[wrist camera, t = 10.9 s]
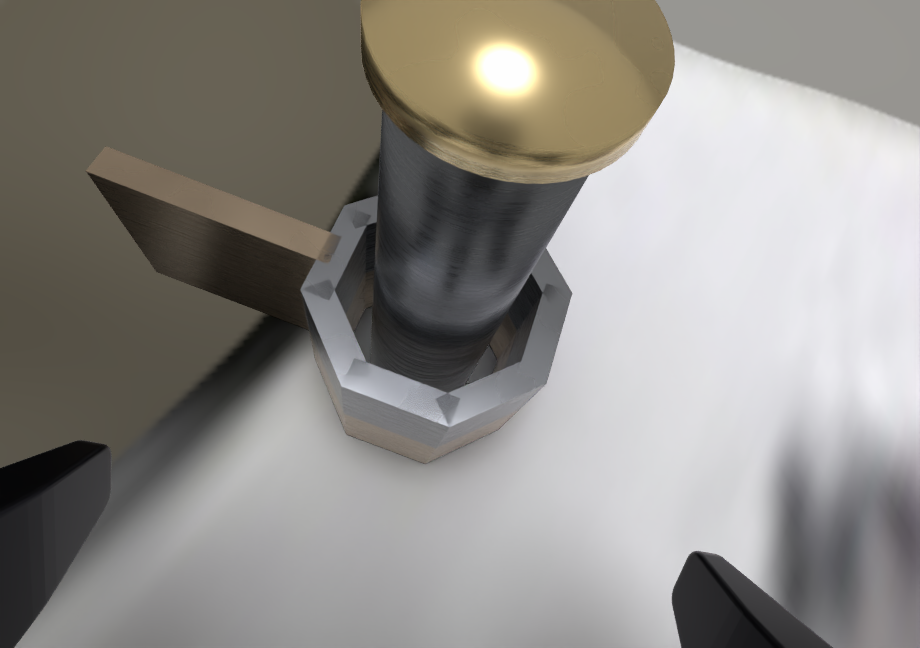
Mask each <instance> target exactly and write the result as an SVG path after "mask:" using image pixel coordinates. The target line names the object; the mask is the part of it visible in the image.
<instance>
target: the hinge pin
mask: <svg viewBox="0 0 920 648" xmlns="http://www.w3.org/2000/svg"><path fill="white" fill-rule="evenodd" d="M361 58H362V65H363V68H364V73H365V77H366V80H367V82H368V84H369V86H370V89H371V91H372V93H373V95H374V97H375V98H376V100H377V102H378V103H379V105H380V107H381V108H382V126H381V146H380V166H379V186H378V206H377V226H376V246H375V266H374V286H373V306H372V326H371V346H370V364H372V365H375V366H377V367H380V368H383V369H385V370H388V371H391V372H393V373H396V374H398V375H401V376H404V377H406V378H409V379H412V380H414V381H417V382H419V383H422V384H425V385H427V386H430V387H433V388H435V389H438V390H440V391H443V392H446V393H449V392H452V391H454V390H456V389H459V388H461V387H463V386H464V385H465V384H466V382H467V380H468V379H469V377H470V375H471V374H472V372H473V370H474V368H475V367H476V365H477V363H478V362H479V360H480V358H481V357H482V355H483V353H484V352H485V350H486V348H487V346H488V345H489V343H490V341H491V340H492V338H493V336H494V335H495V333H496V331H497V330H498V328H499V326H500V324H501V323H502V321H503V319H504V318H505V316H506V314H507V313H508V311H509V309H510V308H511V306H512V304H513V303H514V301H515V299H516V297H517V296H518V294H519V292H520V291H521V289H522V287H523V286H524V284H525V282H526V281H527V279H528V277H529V275H530V274H531V272H532V270H533V269H534V267H535V265H536V264H537V262H538V260H539V259H540V257H541V255H542V253H543V252H544V250H545V248H546V247H547V245H548V243H549V242H550V240H551V238H552V237H553V235H554V233H555V231H556V230H557V228H558V226H559V225H560V223H561V221H562V220H563V218H564V216H565V215H566V213H567V211H568V210H569V208H570V206H571V204H572V203H573V201H574V199H575V198H576V196H577V194H578V193H579V191H580V189H581V188H582V186H583V184H584V182H585V181H586V179H587V177H588V176H589V175H590V174H592V173H595V172H597V171H600V170H602V169H603V168H605V167H607V166H609V165H610V164H612V163H614V162H615V161H617V160H618V159H619V158H620V157H621V156H623V155H624V154H625V153H626V152H627V151H628V150H629V149H630V148H631V147H632V146H633V144H634V143H635V142H636V141H637V140H638V138H639V136H640V135H641V133H642V132H643V130H644V129H645V127H646V126H647V124H648V123H649V121H650V120H651V118H652V117H653V115H654V114H655V112H656V111H657V109H658V108H659V106H660V104H661V103H662V101H663V99H664V98H665V96H666V94H667V93H668V90H669V87H670V84H671V81H672V78H673V72H674V65H675V58H674V46H673V40H672V35H671V33H670V30H669V27H668V24H667V21H666V19H665V17H664V15H663V13H662V11H661V9H660V7H659V6H658V4H657V3H656V1H655V0H361Z"/></svg>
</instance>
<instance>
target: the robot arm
mask: <svg viewBox="0 0 920 648" xmlns="http://www.w3.org/2000/svg"><path fill="white" fill-rule="evenodd" d="M111 457H112V456H111V450H110V448H109V447H108V446H107V445H105V444H101V443H95V442H90V441H82V440H78V441H75V442H72V443H69V444H66V445H63V446H61V447H58V448H55V449H52V450H49V451H46V452H44V453H41V454H38V455H35V456H33V457H30V458H27V459H24V460H21V461H19V462H16V463H13V464H10V465H8V466H5V467H2V468H0V648H14V647H15V646H16V644H17V643H18V642H19V640H20V639H21V638H22V636H23V635H24V634H25V632H26V631H27V630H28V628H29V627H30V626H31V624H32V623H33V622H34V620H35V619H36V618H37V616H38V615H39V614H40V612H41V611H42V609H43V608H44V607H45V605H46V604H47V602H48V601H49V599H50V598H51V596H52V594H53V593H54V591H55V590H56V588H57V587H58V585H59V583H60V582H61V580H62V578H63V577H64V575H65V574H66V572H67V570H68V569H69V567H70V565H71V564H72V562H73V560H74V559H75V557H76V556H77V554H78V552H79V551H80V549H81V547H82V546H83V544H84V542H85V541H86V539H87V538H88V536H89V534H90V533H91V531H92V529H93V528H94V526H95V524H96V523H97V521H98V519H99V518H100V516H101V515H102V513H103V511H104V510H105V508H106V506H107V504H108V501H109V498H110V494H111ZM672 606H673V611H674V615H675V620H676V625H677V629H678V634H679V639H680V643H681V648H833V647H832V646H830V645H829V644H828V643H827V642H825V641H824V640H823V639H822V638H821V637H819V636H818V635H817V634H816V633H814V632H813V631H812V630H811V629H810V628H808V627H807V626H806V625H805V624H803V623H802V622H801V621H800V620H798V619H797V618H796V617H795V616H794V615H792V614H791V613H790V612H789V611H787V610H786V609H785V608H784V607H783V606H781V605H780V604H779V603H778V602H776V601H775V600H774V599H773V598H772V597H770V596H769V595H768V594H767V593H765V592H764V591H763V590H762V589H761V588H759V587H758V586H757V585H756V584H754V583H753V582H752V581H751V580H750V579H748V578H747V577H746V576H745V575H743V574H742V573H741V572H740V571H739V570H737V569H736V568H735V567H734V566H732V565H731V564H730V563H729V562H727V561H726V560H725V559H724V558H723V557H721V556H719V555H717V554H712V553H707V552H701V551H694V552H692V553H691V554H690V555H689V556H688V558H687V560H686V562H685V564H684V566H683V569H682V571H681V573H680V575H679V577H678V579H677V582H676V584H675V586H674V589H673V593H672Z"/></svg>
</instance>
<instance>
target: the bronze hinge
mask: <svg viewBox="0 0 920 648" xmlns="http://www.w3.org/2000/svg"><path fill="white" fill-rule="evenodd" d="M86 172H87V174H88V175H89V176H90V178H91V179H92V181H93V182H94V184H95V185H96V186H97V188H98V189H99V191H100V192H101V194H102V195H103V197H104V198H105V199H106V201H107V202H108V204H109V205H110V207H111V208H112V209H113V211H114V212H115V214H116V215H117V216H118V218H119V219H120V221H121V222H122V224H123V225H124V227H125V228H126V229H127V231H128V232H129V234H130V235H131V236H132V238H133V239H134V241H135V242H136V244H137V245H138V247H139V248H140V249H141V251H142V252H143V254H144V255H145V257H146V258H147V259H148V261H149V262H150V264H151V265H152V267H153V268H154V269H155V271H156V272H158V273H161V274H163V275H166V276H168V277H171V278H174V279H176V280H179V281H182V282H184V283H187V284H189V285H192V286H195V287H198V288H200V289H203V290H206V291H208V292H211V293H213V294H216V295H218V296H221V297H224V298H226V299H229V300H231V301H234V302H237V303H239V304H242V305H245V306H247V307H250V308H252V309H255V310H258V311H260V312H263V313H266V314H268V315H271V316H273V317H276V318H279V319H281V320H284V321H287V322H289V323H292V324H294V325H297V326H300V327H302V328H305V329H308V330H309V332H310V337H311V341H312V346H313V351H314V355H315V360H316V362H317V365H318V367H319V369H320V372H321V374H322V377H323V379H324V382H325V384H326V386H327V389H328V391H329V394H330V396H331V398H332V401H333V403H334V406H335V408H336V410H337V413H338V415H339V418H340V420H341V423H342V425H343V427H344V430H345V432H346V434H347V435H350V436H352V437H355V438H358V439H360V440H363V441H366V442H368V443H371V444H374V445H376V446H379V447H381V448H384V449H387V450H389V451H392V452H395V453H397V454H400V455H403V456H405V457H408V458H411V459H413V460H416V461H418V462H421V463H424V464H426V463H428V462H430V461H433V460H435V459H437V458H439V457H441V456H443V455H445V454H448V453H450V452H452V451H454V450H456V449H458V448H460V447H462V446H465V445H467V444H469V443H471V442H473V441H475V440H477V439H479V438H482V437H484V436H486V435H488V434H490V433H492V432H494V431H497V430H498V429H499V428H500V427H502V426H503V425H504V424H505V423H506V422H507V421H508V420H509V419H510V418H511V417H512V416H513V415H514V414H515V413H516V412H517V411H518V410H519V409H520V408H521V407H522V406H523V405H525V404H526V403H527V402H528V401H529V400H530V399H531V398H532V397H533V396H534V395H535V394H536V393H537V392H538V391H539V390H540V389H541V388H542V387H543V386H544V385H545V384H546V383H547V379H548V376H549V373H550V369H551V366H552V362H553V359H554V355H555V352H556V348H557V345H558V341H559V338H560V334H561V331H562V327H563V324H564V320H565V317H566V313H567V310H568V306H569V303H570V299H571V296H572V292H571V290H570V289H569V287H568V285H567V284H566V282H565V280H564V278H563V277H562V275H561V273H560V272H559V270H558V268H557V266H556V265H555V263H554V261H553V260H552V258H551V256H550V254H549V253H548V251H547V249H546V248H545V250H544V252H543V253H542V255H541V257H540V259H539V260H538V262H537V264H536V265H535V267H534V269H533V270H532V272H531V274H530V275H529V277H528V279H527V281H526V282H525V284H524V286H523V287H522V289H521V291H520V292H519V294H518V296H517V297H516V299H515V301H514V303H513V304H512V306H511V308H510V309H509V311H508V313H507V314H506V316H505V318H504V319H503V321H502V323H501V324H500V326H499V328H498V330H497V331H496V333H495V335H494V336H493V338H492V340H491V341H490V343H489V344H490V346H491V348H492V350H493V352H494V354H495V356H496V358H497V362H496V365H495V368H494V371H493V374H491V375H489V376H486V377H484V378H482V379H479V380H477V381H475V382H472V383H470V384H468V385H465V386H463V387H461V388H459V389H456V390H454V391H452V392H449V393H446V392H443V391H440V390H438V389H435V388H433V387H430V386H427V385H425V384H422V383H419V382H417V381H414V380H412V379H409V378H406V377H404V376H401V375H398V374H396V373H393V372H391V371H388V370H385V369H383V368H380V367H377V366H375V365H372V364H370V363H367V362H366V360H365V357H364V355H363V353H362V351H361V348H360V346H359V344H358V342H357V339H356V337H355V335H354V331H355V329H356V327H357V325H358V323H359V321H360V318H361V316H362V314H363V312H364V310H365V309H366V308H368V307H371V306H373V286H374V266H375V246H376V226H377V206H378V196H375V197H372V198H368V199H365V200H362V201H358V202H355V203H352V204H348V205H345V206H344V208H343V210H342V211H341V213H340V215H339V217H338V219H337V221H336V223H335V225H334V227H333V229H332V230H331V232H328V231H325V230H322V229H320V228H317V227H315V226H312V225H309V224H307V223H304V222H301V221H299V220H296V219H294V218H291V217H289V216H286V215H283V214H280V213H278V212H276V211H273V210H270V209H268V208H265V207H263V206H260V205H257V204H255V203H252V202H249V201H247V200H244V199H242V198H239V197H236V196H234V195H231V194H229V193H226V192H223V191H221V190H218V189H216V188H213V187H210V186H208V185H205V184H203V183H200V182H197V181H195V180H192V179H189V178H187V177H184V176H182V175H179V174H177V173H174V172H171V171H169V170H166V169H163V168H161V167H158V166H156V165H153V164H150V163H148V162H145V161H143V160H140V159H138V158H135V157H132V156H130V155H127V154H124V153H122V152H119V151H117V150H114V149H112V148H109V147H106V146H105V148H104V149H103V150H102V151H101V153H100V154H99V155H98V156H97V158H96V159H95V160H94V161H93V163H92V164H91V165H90V166H89V168H88V169H87V170H86Z"/></svg>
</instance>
